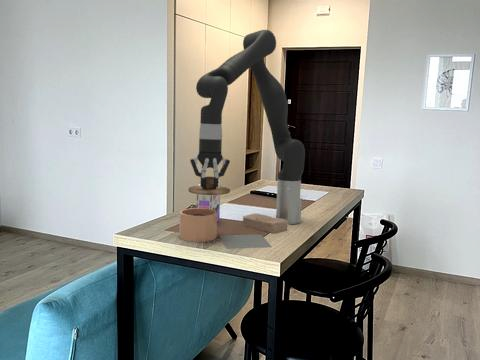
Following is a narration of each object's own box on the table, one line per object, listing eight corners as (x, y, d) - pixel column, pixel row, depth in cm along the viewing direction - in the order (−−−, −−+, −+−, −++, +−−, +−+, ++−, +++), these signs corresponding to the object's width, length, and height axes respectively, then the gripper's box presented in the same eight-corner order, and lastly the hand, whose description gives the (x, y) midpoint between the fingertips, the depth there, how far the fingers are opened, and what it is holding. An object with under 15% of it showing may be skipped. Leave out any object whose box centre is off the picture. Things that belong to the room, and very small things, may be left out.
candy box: (211, 228, 173) (211, 185, 171) (195, 227, 174) (196, 184, 172) (220, 220, 187) (220, 179, 184) (205, 219, 188) (206, 179, 185)
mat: (260, 235, 166) (261, 234, 166) (271, 248, 151) (271, 246, 151) (219, 236, 163) (219, 235, 163) (226, 249, 148) (226, 248, 148)
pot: (213, 232, 169) (213, 207, 167) (218, 241, 156) (219, 215, 155) (178, 233, 166) (178, 208, 165) (181, 243, 154) (181, 216, 153)
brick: (241, 226, 179) (241, 214, 178) (256, 223, 185) (256, 211, 184) (273, 235, 167) (273, 223, 166) (288, 232, 173) (288, 219, 172)
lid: (225, 187, 165) (226, 174, 165) (233, 195, 152) (234, 180, 151) (186, 187, 162) (186, 174, 162) (191, 195, 149) (191, 180, 148)
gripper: (229, 137, 160) (227, 186, 162) (188, 136, 157) (187, 186, 159) (233, 138, 152) (231, 190, 155) (190, 137, 149) (189, 190, 152)
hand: (209, 188), depth 157 cm, fingers closed on lid, 3 cm apart
